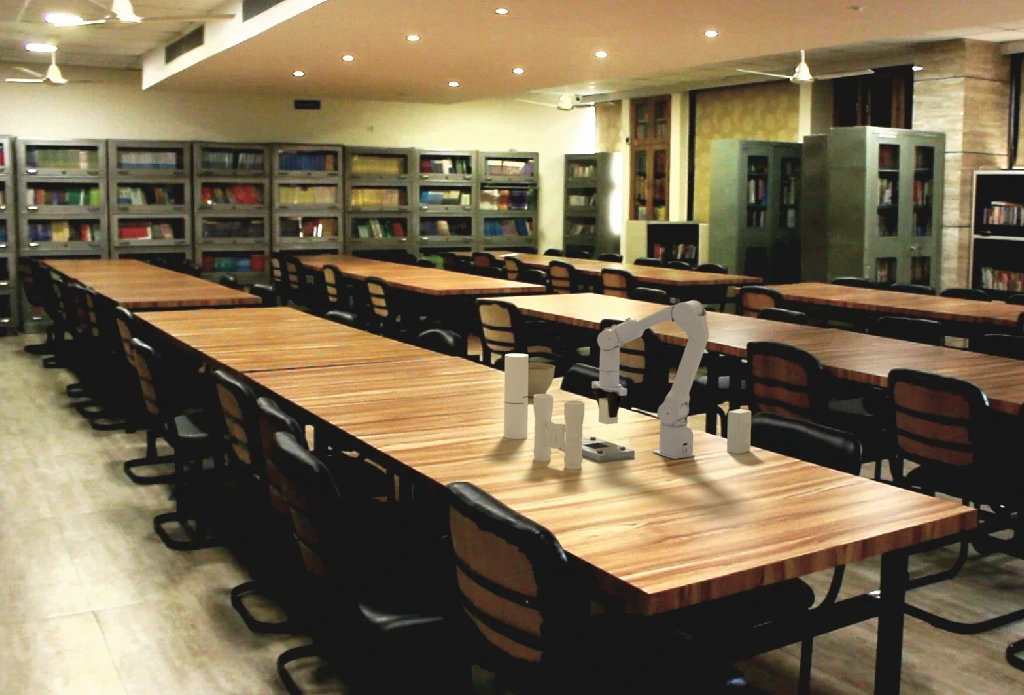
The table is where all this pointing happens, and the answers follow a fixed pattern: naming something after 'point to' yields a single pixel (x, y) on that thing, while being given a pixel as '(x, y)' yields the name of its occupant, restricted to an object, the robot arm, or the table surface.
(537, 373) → the planter bowl
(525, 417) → the cylindrical container
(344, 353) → the table surface
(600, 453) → the strike plate
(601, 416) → the cream rectangular block
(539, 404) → the binoculars
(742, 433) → the skincare box
